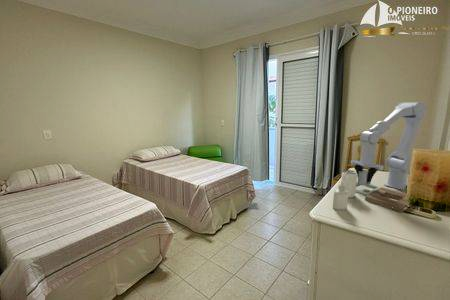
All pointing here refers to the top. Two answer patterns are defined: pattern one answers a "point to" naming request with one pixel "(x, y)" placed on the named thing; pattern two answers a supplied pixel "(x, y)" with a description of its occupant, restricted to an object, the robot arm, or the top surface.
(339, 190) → the eye dropper bottle
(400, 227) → the top surface
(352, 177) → the can
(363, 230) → the top surface
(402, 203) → the pallet
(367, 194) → the grey rectangular frame
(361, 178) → the billet
